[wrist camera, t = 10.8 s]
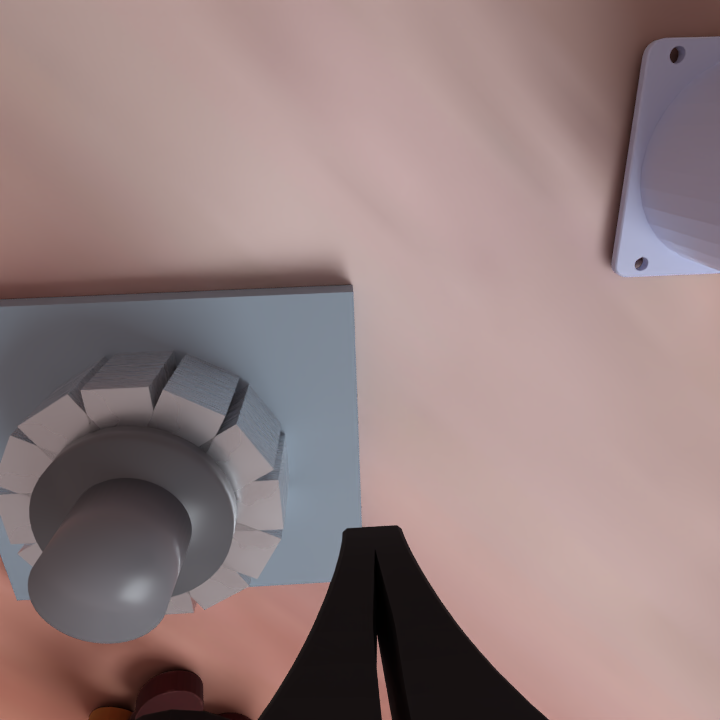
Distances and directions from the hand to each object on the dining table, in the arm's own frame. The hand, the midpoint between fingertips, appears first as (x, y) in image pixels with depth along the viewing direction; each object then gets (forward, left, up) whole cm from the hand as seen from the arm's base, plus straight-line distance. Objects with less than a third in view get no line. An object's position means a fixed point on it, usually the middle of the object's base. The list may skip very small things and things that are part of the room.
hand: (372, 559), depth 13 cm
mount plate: (+8, +3, -10) cm, 13 cm away
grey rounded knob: (+8, +3, -9) cm, 13 cm away
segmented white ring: (+8, +3, -10) cm, 13 cm away
